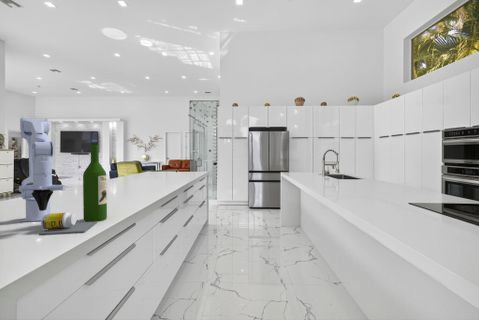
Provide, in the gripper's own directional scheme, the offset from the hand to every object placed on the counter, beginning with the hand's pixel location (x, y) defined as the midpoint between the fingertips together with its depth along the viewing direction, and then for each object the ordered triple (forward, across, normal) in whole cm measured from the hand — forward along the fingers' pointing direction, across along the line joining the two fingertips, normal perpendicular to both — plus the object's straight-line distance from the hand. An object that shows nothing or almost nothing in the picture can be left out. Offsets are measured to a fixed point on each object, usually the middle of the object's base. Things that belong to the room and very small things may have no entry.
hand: (43, 210), depth 99 cm
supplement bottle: (+4, +1, 0) cm, 4 cm away
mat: (+7, +9, 0) cm, 12 cm away
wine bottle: (+8, +14, +13) cm, 21 cm away
